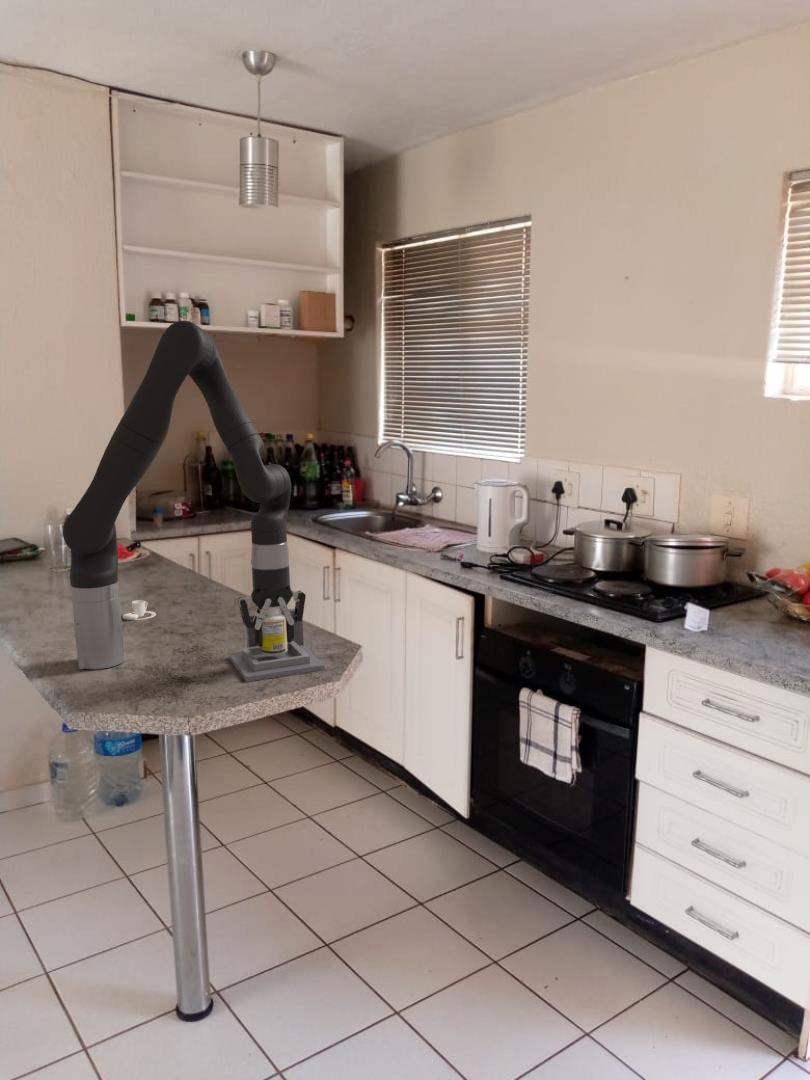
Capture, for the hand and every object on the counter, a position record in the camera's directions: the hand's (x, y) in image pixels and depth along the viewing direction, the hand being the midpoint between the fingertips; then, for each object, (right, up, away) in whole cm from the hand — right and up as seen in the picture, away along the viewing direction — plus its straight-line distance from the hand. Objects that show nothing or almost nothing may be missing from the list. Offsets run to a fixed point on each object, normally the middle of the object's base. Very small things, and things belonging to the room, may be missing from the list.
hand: (274, 643), depth 174 cm
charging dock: (0, -4, +1) cm, 4 cm away
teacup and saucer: (-43, +1, +39) cm, 58 cm away
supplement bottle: (0, -2, +1) cm, 2 cm away
